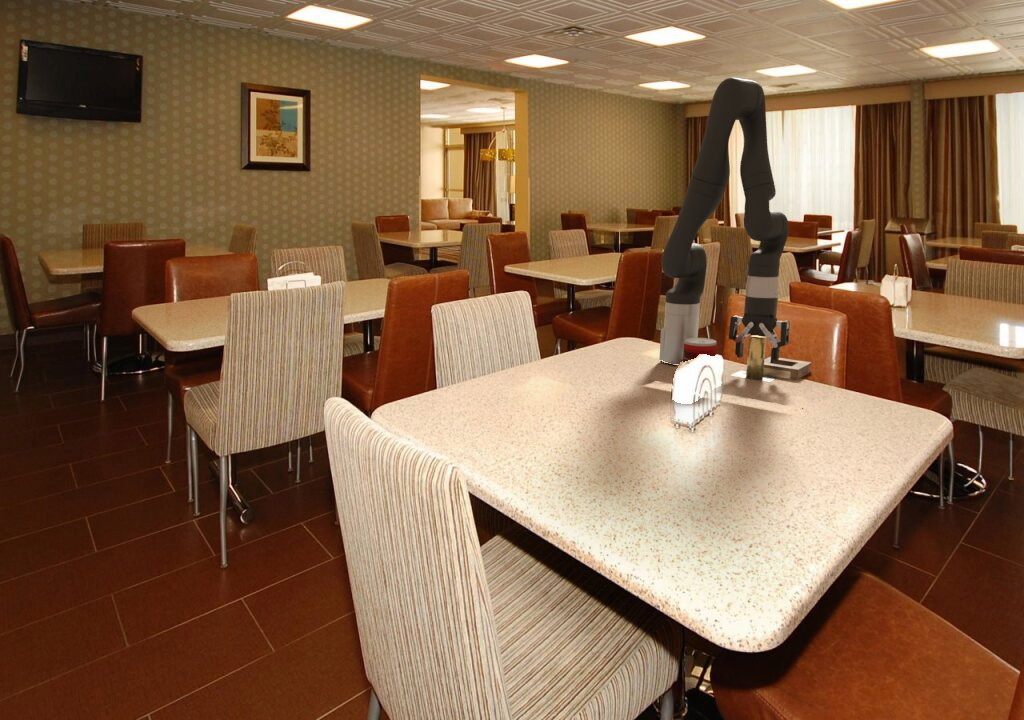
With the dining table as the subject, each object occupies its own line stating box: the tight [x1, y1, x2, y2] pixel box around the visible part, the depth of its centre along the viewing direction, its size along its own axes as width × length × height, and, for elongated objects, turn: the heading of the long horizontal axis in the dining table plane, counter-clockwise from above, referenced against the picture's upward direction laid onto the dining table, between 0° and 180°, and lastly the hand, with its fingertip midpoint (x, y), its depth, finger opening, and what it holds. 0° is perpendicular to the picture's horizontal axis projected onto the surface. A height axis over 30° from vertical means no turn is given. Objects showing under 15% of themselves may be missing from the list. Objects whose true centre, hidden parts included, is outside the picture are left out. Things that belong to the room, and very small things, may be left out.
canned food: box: [683, 337, 718, 362], centre depth 166 cm, size 8×8×11 cm
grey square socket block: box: [763, 356, 812, 381], centre depth 173 cm, size 10×11×4 cm
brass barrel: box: [746, 335, 767, 378], centre depth 168 cm, size 4×4×10 cm
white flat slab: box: [729, 370, 780, 383], centre depth 169 cm, size 10×7×2 cm
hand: (756, 359), depth 167 cm, fingers open, 8 cm apart
